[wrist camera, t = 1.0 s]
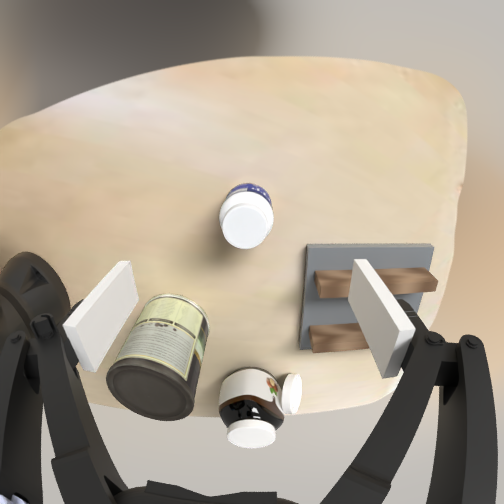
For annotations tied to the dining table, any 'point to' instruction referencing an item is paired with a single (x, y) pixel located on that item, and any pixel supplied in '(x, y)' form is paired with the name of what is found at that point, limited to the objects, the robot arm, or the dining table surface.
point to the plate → (343, 259)
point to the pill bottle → (246, 216)
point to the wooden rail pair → (339, 286)
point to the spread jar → (256, 405)
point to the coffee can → (161, 359)
